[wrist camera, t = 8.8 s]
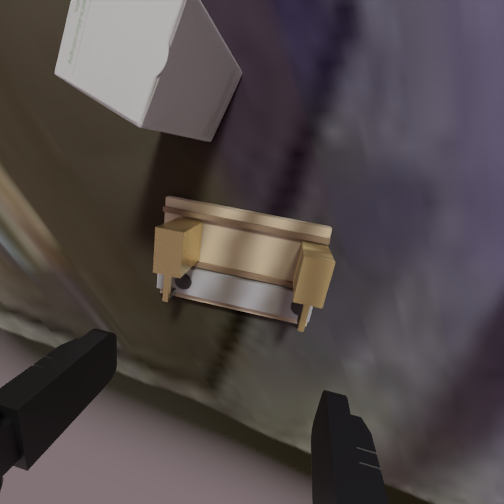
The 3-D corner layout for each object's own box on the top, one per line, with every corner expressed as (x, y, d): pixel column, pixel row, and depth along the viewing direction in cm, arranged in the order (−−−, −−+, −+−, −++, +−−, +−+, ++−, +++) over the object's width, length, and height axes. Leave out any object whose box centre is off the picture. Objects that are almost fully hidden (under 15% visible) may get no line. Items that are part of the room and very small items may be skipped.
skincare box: (194, 40, 28) (85, -100, 13) (247, 74, 28) (198, -28, 14) (163, 117, 31) (45, 71, 16) (212, 148, 31) (139, 129, 16)
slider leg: (203, 221, 32) (183, 232, 26) (196, 282, 35) (177, 305, 29) (179, 216, 32) (155, 227, 27) (174, 277, 35) (151, 299, 29)
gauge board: (330, 226, 32) (341, 243, 25) (305, 319, 36) (308, 356, 29) (171, 195, 34) (138, 202, 26) (164, 287, 38) (135, 315, 31)
